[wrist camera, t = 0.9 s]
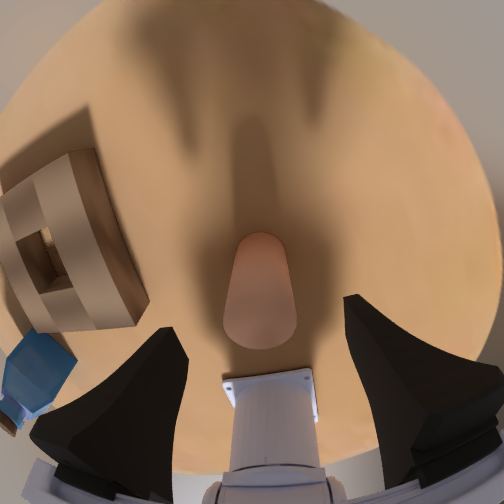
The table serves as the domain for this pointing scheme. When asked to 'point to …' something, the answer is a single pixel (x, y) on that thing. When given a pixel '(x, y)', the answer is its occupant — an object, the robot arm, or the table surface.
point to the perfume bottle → (32, 379)
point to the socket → (69, 250)
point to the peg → (260, 294)
